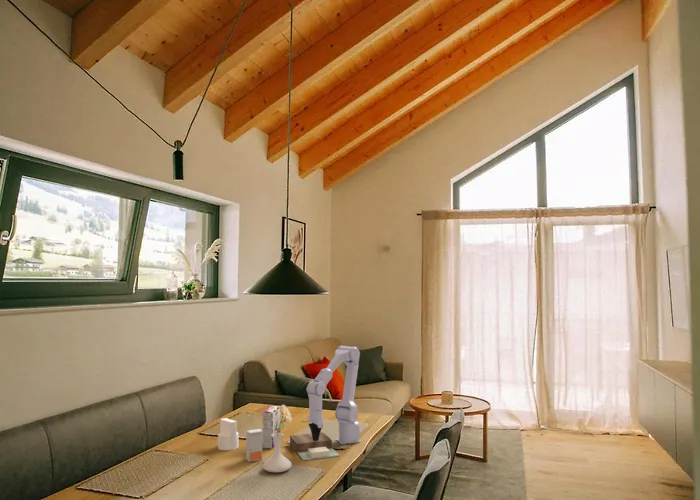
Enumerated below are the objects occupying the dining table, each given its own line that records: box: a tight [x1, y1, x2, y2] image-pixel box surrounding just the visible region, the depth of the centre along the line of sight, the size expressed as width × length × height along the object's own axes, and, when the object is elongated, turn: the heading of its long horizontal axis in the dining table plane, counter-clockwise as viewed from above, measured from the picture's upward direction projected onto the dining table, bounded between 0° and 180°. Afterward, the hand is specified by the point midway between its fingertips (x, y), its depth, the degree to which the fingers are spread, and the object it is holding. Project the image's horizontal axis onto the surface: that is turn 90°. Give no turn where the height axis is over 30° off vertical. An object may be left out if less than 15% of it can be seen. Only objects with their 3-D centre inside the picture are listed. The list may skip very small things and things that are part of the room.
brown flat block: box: [289, 431, 333, 453], centre depth 240 cm, size 16×13×4 cm
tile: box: [308, 447, 330, 458], centre depth 228 cm, size 8×6×2 cm
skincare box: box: [245, 428, 263, 463], centre depth 223 cm, size 6×4×12 cm
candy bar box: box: [262, 405, 281, 450], centre depth 243 cm, size 11×5×16 cm, turn 168°
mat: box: [296, 447, 341, 462], centre depth 229 cm, size 16×10×1 cm, turn 110°
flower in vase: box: [262, 404, 293, 473], centre depth 212 cm, size 13×11×25 cm
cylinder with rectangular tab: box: [217, 417, 239, 451], centre depth 240 cm, size 9×9×12 cm
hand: (315, 440), depth 233 cm, fingers closed
